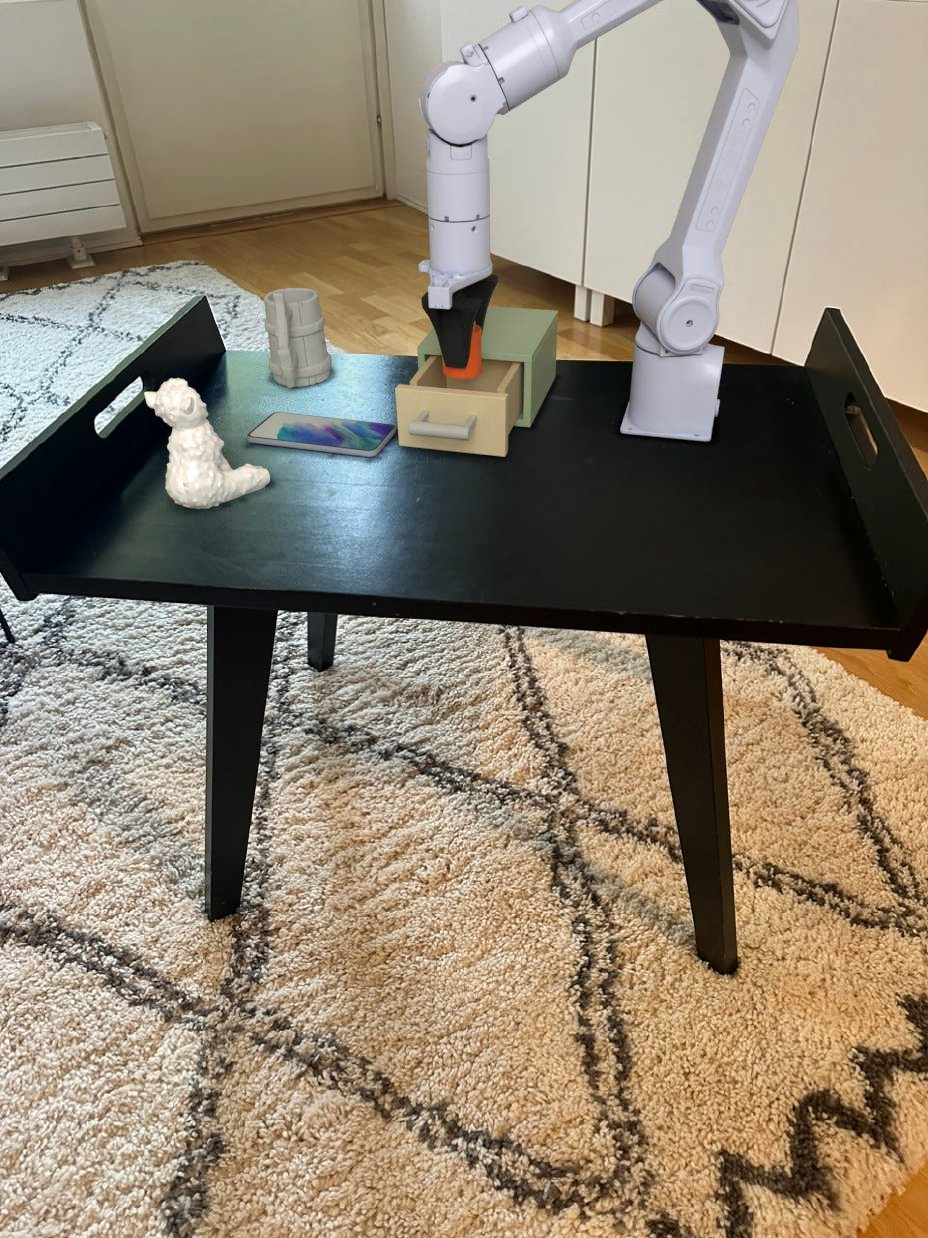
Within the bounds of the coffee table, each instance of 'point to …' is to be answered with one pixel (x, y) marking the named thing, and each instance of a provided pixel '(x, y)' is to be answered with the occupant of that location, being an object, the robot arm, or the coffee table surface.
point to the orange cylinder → (474, 358)
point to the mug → (296, 337)
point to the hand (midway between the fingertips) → (462, 358)
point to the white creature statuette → (198, 452)
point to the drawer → (461, 408)
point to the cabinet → (515, 350)
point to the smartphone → (323, 434)
